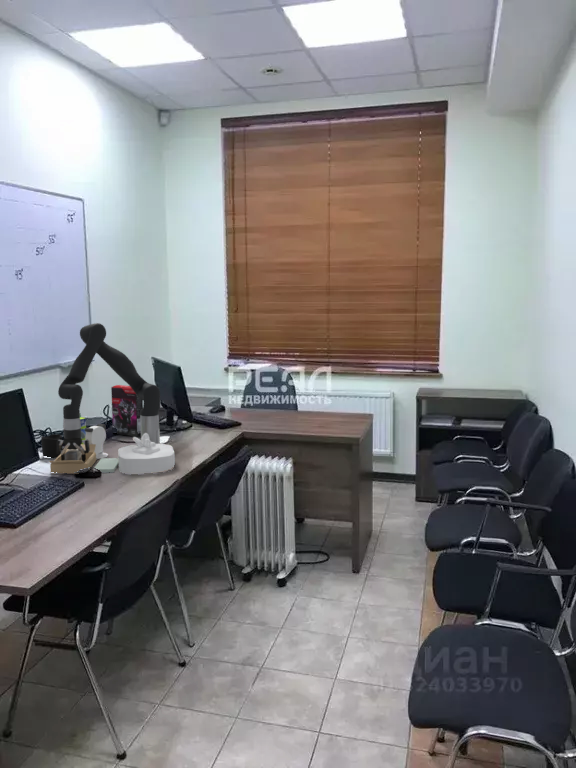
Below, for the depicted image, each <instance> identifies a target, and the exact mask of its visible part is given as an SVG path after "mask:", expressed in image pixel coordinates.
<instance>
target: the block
mask: <svg viewBox="0 0 576 768" xmlns="http://www.w3.org/2000/svg"><path fill="white" fill-rule="evenodd" d="M67 460H82V453H81V452H80V451H79V450H78V449H76V450H74V449H71V450H68V451H67V452H66V453H65V461H67Z"/></svg>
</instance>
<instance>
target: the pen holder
mask: <svg viewBox="0 0 576 768" xmlns="http://www.w3.org/2000/svg"><path fill="white" fill-rule="evenodd" d="M59 439H60V440H63V434H57V433H54V434H53V433H52V434H50V435H48V436H44V435H43V436H41V437H40V440H41V441H40V442H41V449H42V457H43V456H47V457H51V458H53V459H56V458H57V457H58V456H59V455H60V454H59V453H57V441H58V440H59ZM61 451H63V443H62V444H61Z"/></svg>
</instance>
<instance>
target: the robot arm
mask: <svg viewBox="0 0 576 768" xmlns="http://www.w3.org/2000/svg"><path fill="white" fill-rule="evenodd" d="M105 327H106V326H104V324H103V323H100V322H94V323H91V324H87V325H85V326H83V327H81V328H80V330H79V337H80V339H81V340H82V342H83V343H84V344H85V346H84V347H83V349H82V351H81V352H80V353H79V354H78V356H77V357H76V358H75V360H74V362H73V364H72V366H71V368H70V371H69V373H68V375H66V377H65V378H64V380H63V381H62V382H61V384H60V386H59V387H58V392H57V393H58V396H59V398H60V399H61V400H62V399H63V400H71V401H70V403H69V404H65V405H64V406H63V408H62V414H63V415H62V416H63V423H62V428H63V439H62V440H60V439H59V440H58V441H57V453H59V454H61V461H65V451H66V450H67V449H69V450H71V449H74V450H76V449H78V450H79V451H80V452H81V453H82V461H83V462H84V461H85V460H86V453H88V452H89V451H90V448H89V440H88V439H86V440H82V439H81V421H80V413H81V411H80V409H81V404H82V399H83V394H84V391H83V388H82V386H81V385H79V384H80V383H82V382H84V381H85V378H86V376H87V373H88V372H89V371H88V370H89V368H90V365H91V364H92V362H93V359H94V358H95V356H96V354H97V355H98V356H99V357H100V358H101V359H102V360H103V361H104V362H105V363H106V364H107V365H108V366H109V367H110V368H111V369H112V370H113V371H114V372H115V373H116V374H117V375H118V376H119V377H120V378H121V379H122V380H123V381H124V382H125V383H126V384H128V386H130V387H131V388H132V389H133V391H134V392H135V393H136V394H137V396H138V397H139V398H140V399H141V400H143V408H142V409H141V410H140V424H141V435H140V440H141V438H142V436H143V434H145V433H147V434H148V435H149V437H150V439H149V440H150V441H151V442H155V443H156V444H161V437H160V435H161V433H160V431H161V430H160V421H159V419H160V418H159V414H160V413H159V412H160V409H161V390H160V388H159V387H158V386H157V385H155V384H153V383H149V382H147V381H146V380H145V379H144V378H143V377H142V376H141V375H140V374H139V373H138V370H137V368H136V367H135V365H134V363H133V362H132V361H131V359H130V358H129V357H128V356H127V355H126V354H125V353H124V352H123V351H121V350H119V349H117V348H114V347H112V346H111V345H109V344H108V343H106V342H105V340H106V339H105V338H106V336H107V330H106V328H105ZM141 441H142V440H141ZM82 443H84V445H85V448H86V450H84V449H83V447H82V446H81V444H82ZM61 444H62V445H64V446H65V447H64V448H62V451H61ZM84 463H85V462H84Z"/></svg>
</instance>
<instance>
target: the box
mask: <svg viewBox="0 0 576 768" xmlns="http://www.w3.org/2000/svg"><path fill="white" fill-rule="evenodd" d="M80 421H81V439H82V440H85V436H86V432H85V428H87V418H86V417H82V414H81V412H80ZM82 444H84V443H82Z"/></svg>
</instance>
